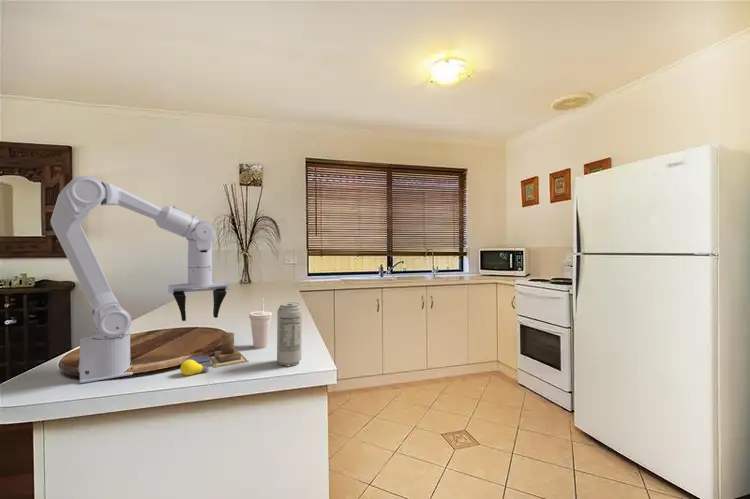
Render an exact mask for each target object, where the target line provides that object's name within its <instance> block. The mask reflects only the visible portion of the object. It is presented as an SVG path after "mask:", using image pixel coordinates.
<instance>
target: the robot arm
mask: <svg viewBox="0 0 750 499" xmlns="http://www.w3.org/2000/svg"><path fill="white" fill-rule="evenodd" d="M57 195H58V196H57V199H56V202H55V206H54V209H53V210H52V215H51V218H50V226H51V227H52V229H53V231H54V234H55V235H56V238H57V240H58V242H59V243H60V246H61V248H62V250H63V252H64V254H65V256H66V258H67V260H68V262H69V264H70V266H71V268H72V269H73V270H72V271H73V273H74V274H75V276H76V278H77V281H78V283H79V285H80V287H81V289H82V291H83V292H84V295H85V297H86V298H87V301H88V303H89V304H88V305H89V306H90V308H91V316H90V317H91V322H92V324H93V326H95V327H96V328H95V329H94V330H93V332H91V335H90V336H89V337H82V338H80V341H79V353H78V354H79V363H78V368H77V369H78V373H79V384H84V383H89V382H97V381H102V380H109V379H114V378H120V377H126V376H127V377H128V376H132V375H133V374H134V371H133V372H125V371H126V370H127V369H128V368H129V367H130V363H131V329H130V327H131V326H132V325H131V324H132V316H131V314H130V313H129V311H128V310H125V309H124V308H123V307H122V306H121V305H120V303H119V301H118V299H117V297H116V295H115V294H114V293H113V290H112V289H111V286H110V284H109V281H108V280H107V278H106V275H105V274H104V271H103V269H102V267H101V265H100V263H99V260H98V259H97V256H96V255H95V252H94V250H93V248H92V245H91V244H90V241H89V239H88V237H87V235H86V233H85V231H84V229H83V227H82V224H83V222H84V221H85V219H86V218H87V216H88V215H89V212H90V211H92V210H93V209H94V208H96V207H97V206H98V205H99V204H100V205H101V206H119V207H122V208H124V209H127V210H130V211H132V212H134V213H136V214H139V215H143V216H145V217H147V218H150V219H152V220H154V222H155V224H156V226H157V227H158V228H160V229H163V230H164V231H167V232H170V233H172V234H174V235H177V236H179V237H182V238H185V239H186V240H187V241H188V245H187V248H188V249H187V283H177V284H176V283H175V284H168V285H167V293H168V294H172V296H173V297H174V299H175V301H176V303H177V306H178V308H179V312H180V317H181V321H182V322H186V319H187V315H186V312H187V311H186V298H187V296H186V293H190V292H191V293H192V292H207V291H212V295H213V297H212V299H213V312H212V314H213V317H214V318H215V319H217V318H218V317H219V312H220V309H221V305H222V303H223V301H224V299H225V297H226V296H227V291H228V290H230V288H231V283H230V282H229V281H213V248H212V247H213V246H212V244H213V241H214V240H215V238H216V236H217V232H216V231H215V228H214V226H213V225H212V224H211V223H210V222H209V221H204V220H198V219H199V216H197V215H190V214H188V213H186V212H183V211H181V210H180V209H181V208H180V207H178V206H176V205H173V207H172V206H170V205H167V206H163V207H160V206H157V205H156V204H154V203H152V202H150V201H148V200H146V199H143V198H142V197H140V196H138V195H135V194H134V193H131V192H130V191H127V190H125V189H123V188H121V187H119V186H117V185H114V184H112V183H109V182H105V181H100V180H98V179H97V178H95V177H93V176H88V175H80V176H77V177H74V178H73V179H71V180H70V182H68V183H67V184H66V185H65V186H64V187H63V188H62V189H61V191H60V192H59V193H58V194H57ZM85 371H89V373H85ZM124 372H125V373H124Z"/></svg>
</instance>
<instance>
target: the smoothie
mask: <svg viewBox="0 0 750 499" xmlns="http://www.w3.org/2000/svg"><path fill="white" fill-rule="evenodd" d="M264 301H265V298H264V297H262V298H261V310H259V311H252V312H250V313H249V314H248V318H249V319H250V327H251V335H252V344H253V348H254V349H265V348H267V347H268V342H269V335H270V326H271V320H272V319H271V318H272V317H273V312H271V311H268V310H265V303H264Z"/></svg>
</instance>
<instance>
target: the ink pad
mask: <svg viewBox="0 0 750 499" xmlns="http://www.w3.org/2000/svg"><path fill="white" fill-rule="evenodd" d="M209 357H210V355H207V354H204V355H197V356H193V357H191V356H190V357H187V358H185V359H183V360H184V361H186V360H194V361H196V362H197V363H198V364H201V365H202V366H205V367H208V368H209V367H214V366H213V362H212V361H211V359H210V358H209ZM184 361H183V362H184Z"/></svg>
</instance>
